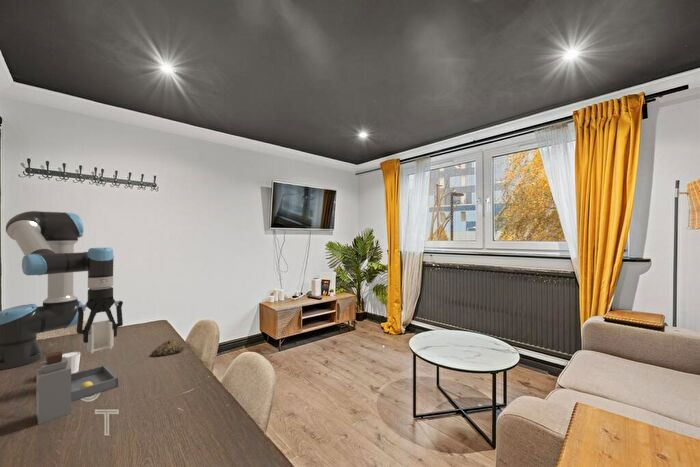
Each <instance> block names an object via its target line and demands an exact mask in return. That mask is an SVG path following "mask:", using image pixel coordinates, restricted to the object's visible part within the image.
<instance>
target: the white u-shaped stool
mask: <svg viewBox="0 0 700 467" xmlns="http://www.w3.org/2000/svg"><path fill="white" fill-rule="evenodd" d="M89 332H90V333H91V351H90V353H91V354H94V353H95V352H96V351H100V350H106V349H109V350H112V349H113V346H112V322H110V321H109V319H107V320H100V321H93V322H92V325H91V327H90V330H89Z"/></svg>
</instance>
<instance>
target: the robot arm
mask: <svg viewBox="0 0 700 467" xmlns="http://www.w3.org/2000/svg"><path fill="white" fill-rule="evenodd" d="M5 232H6V234H7V236H8V237H9V238H10V239H12V240H13V241H15V242H16V243H17V246H19V248H20V250H21V252H22V254H23V257H22V259H21V269H22V273H23V274H24V275H26V276H43V275H47V297H46V298H45V299H44V300H43V301H42V305H41V306H38V305H37V304H36V303H29V304H20V305H17V306H13V307H12V306H11V307H9V308H5V309H3V310H0V370H7V369H12V368H19V367H22V366H26V365H28V364H33V363H35V362H37V361H39V360H40V359H42V357H43V351H42V348H41V346H40V345H39V343H38V340H37V334H40V333H46V332H51V331H57V330H61V329H67V328H70V327H71V328H72V327H74V326H76V333H77V334H78V335H82V342H83V343H84V344H86V351H87V352H88V353H89V352H90V351H91V333H90V332H89V330H90V327H91V325H92V323H93V322H94V320H95V317H96V316H97V314H98V313H105V314H106V316H107V318H108V319H107V320H109V321H110V322H112V347H114V343H115V342H114V341H115V340H114V339H115V337H117V336H118V328H120V327H123V325H124V323H123V321H124V319H123V310H122V307H123V304H124V302H123V300H120V299H119V300H115V299H114V287H113V286H114V258H115V256H114V249H113V248H112V247H90V248H88V251H83V252H74V250H75V249H74V245H75V244H76V243H77V242H78V241H79V239H80V238H81V237H83V235H84V224H83V221H82V219H81V216H79V214H77V213H72V212H59V211H57V212H56V211H40V210H39V211H37V210H30V211H26V212H25V211H24V212H21V213H18V214H16V215H14V216H13V217H11V218H10V219H9V220H8V222H7V223H6V225H5ZM82 272H87V289H88V290H87V301H86V303H85V304H83V302H82V301H81V300H78V299H79V298H78V297H77V296H76V295H74V273H82ZM112 306H115V309H116V311H115V312H116V321H117V322H116V321H115V318H114V316H113V313H112V310H111V308H112ZM86 308H88V309H89V310H90V312H89V315H88V318H87V321H86V323H85V325H84V326H83V324H84V315H85V313H84V312H85V311H86ZM83 327H84V328H83ZM90 353H91V352H90Z"/></svg>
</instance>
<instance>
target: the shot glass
mask: <svg viewBox="0 0 700 467" xmlns="http://www.w3.org/2000/svg"><path fill="white" fill-rule="evenodd" d="M62 357H66V359H67V360H68V364H69V365H70V367H71V374H73V373H76V372H79V368H80V363H81V362H80V359H81V351H71V352H66V353H62Z"/></svg>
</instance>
